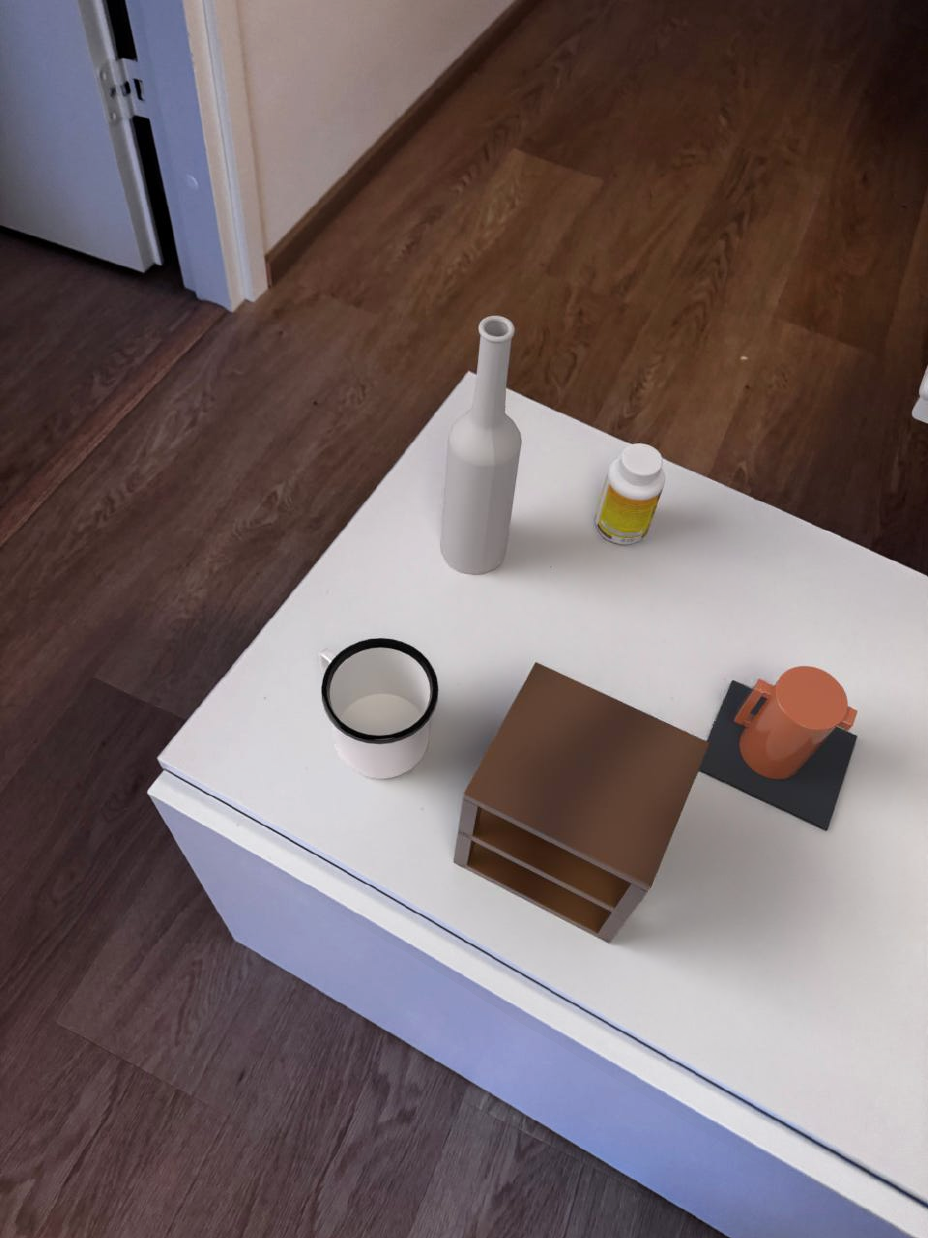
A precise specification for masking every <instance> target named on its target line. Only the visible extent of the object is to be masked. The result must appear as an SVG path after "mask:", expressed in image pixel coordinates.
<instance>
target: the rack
mask: <svg viewBox="0 0 928 1238" xmlns="http://www.w3.org/2000/svg"><path fill="white" fill-rule="evenodd" d="M708 746H709V742H707V740H705V739H703V738H701V737H699V736H696V735H694V734H692V733H690V732H688V731H686V730H683V729H681V728H679V727H677V726H675V725H672V724H670V723H668V722H666V721H664V720H662V719H660V718H658V717H655V716H653V715H651V714H649V713H647V712H644V711H643V710H640V709H638V708H636V707H635V706H632V705H629V704H628V703H624V702H623V701H621V700H619V699H617V698H615V697H613V696H610V695H608V694H606V693H603V692H602V691H599V690H597V689H595V688H593V687H592V686H589V685H586V684H585V683H583V682H581V681H578V680H576V679H574V678H571V677H570V676H567V675H566V674H563V673H561V672H559V671H557V670H555V669H552V668H550V667H548V666H546V665H544V664H542V663H540V662H537V661H535V662H534V664H533V666H532V668H531V669H530V671H529V673H528V675H527V676H526V679H525V680H524V682H523V683H522V685H521V688H520V689H519V691H518V693H517V695H516V697H515V698H514V700H513V702H512V704H511V706H510V708H509V709H508V711H507V713H506V715H505V717H504V719H503V720H502V722H501V723H500V726H499V728H498V729H497V732H496V733H495V735H494V737H493V738H492V740H491V743H490V744H489V745H488V748H487V750H486V752H485V753H484V755H483V757H482V759H481V760H480V762H479V764H478V766H477V768H476V769H475V772H474V773H473V774H472V777H471V779H470V781H469V782H468V784H467V786H466V788H465V790H464V791H463V797H462V803H461V808H460V815H459V820H458V821H459V822H458V828H457V835H456V841H455V847H454V854H453V860H452V861H453V863H454V864H455V865H457V866H459V867H460V868H462V869H465V870H466V871H468V872H471V873H473V874H474V875H477V876H478V877H479V878H482V879H484V880H486V881H488V882H490V883H492V884H494V885H495V886H497V887H499V888H501V889H504V891H506V892H509V893H511V894H512V895H515V896H517V897H518V898H521V899H523V900H524V901H526V902H528V903H530V904H532V905H534V906H536V907H538V908H540V909H541V910H544V911H545V912H547V913H550V914H551V915H553V916H555V917H557V918H559V919H560V920H563V921H565V922H567V923H568V924H571V925H573V926H574V927H576V928H578V929H580V930H582V931H584V932H585V933H588V934H590V935H592V936H594V937H596V938H597V939H599V940H601V941H603V942H605V943H607V944H611V942H612V941H613V940H614V938H615V937H616V936H617V934H618V933H619V932H620V930H621V929H622V927H624V925H625V924H626V922H627V921H628V919H629V918H630V917H631V915H632V914H633V912H634V911H635V910H636V909H637V907H638V906H639V904H640V903H641V902H642V900H643V899H644V898H645V896H647V893H648V892H649V891H650V889H651V888H652V886H653V883H654V882H655V879H656V876H657V874H658V872H659V868H660V866H661V864H662V862H663V859H664V857H665V855H666V852H667V849H668V847H669V844H670V842H671V840H672V837H673V834H674V832H675V830H676V827H677V825H678V822H679V820H680V817H681V815H682V812H683V810H684V807H685V805H686V803H687V800H688V798H689V795H690V793H691V791H692V788H693V785H694V783H695V781H696V778H697V776H698V773H699V772H700V771H699V769H700V766H701V764H702V761H703V759H704V756H705V754H706V751H707V749H708Z"/></svg>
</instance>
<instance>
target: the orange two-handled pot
mask: <svg viewBox="0 0 928 1238" xmlns="http://www.w3.org/2000/svg"><path fill="white" fill-rule="evenodd" d="M751 688H752V690H751V691H750V693H749V694H748V696H747V697H746V699H745V700H744V702H743V703H742V705H741V706H740V708H739V709H738V711H737V714H736V716H735V718H734V722H736V723H738V724H741V725H743V726H746V727H745V729H744V730H743V732H742V734H741V736H740V742H739V746H740V751H741V754H742V756H743V758H744V760H745V762H746V763H747V764H748V765H749V767H750V768H752V769H753V770H754V771H755V772H757V773H758V774H760V775H762V776H764V777H767V778H771V779H784V778H788V777H791V776H793V775H794V774H796V773H797V772H798V771H799V770H800V769H801V767H802V766H803V765H804V764H805V763H806V762H807V761H808V759H809V758H810V757H811V756H812V755H813V754H814V752H815V751H816V750H817V749H818V748H819V747H820V746H821V744H822V743H823V742H824V741H825V740H826V739H827V738H828V736H829V735H830V734H831V733H832V732H833V731H834V730H835V728H836V727H839V728H841V729H843V730H845V731H848V732H849V731H850V729H852V727H853V726H854V723H855V720H856V717H857V714H858V710H857V709H855V708H853V707H851V706H849V702H848V701H849V700H848V696H847V694H846V691H845V688H844V687H843V686H842V684H841V683H840V682H839V681H838V680H837V679H836V678H835V677H834V676H833V675H832V674H830V673H828V672H827V671H826V670H823V669H821V668H818V667H815V666H810V665H798V666H794V667H791V668H789V669H786V670H785V671H784V672H783V673H782V674H781V675H780V677H779V678H778V679H777V681H776V683H775V684H772V683H769V682H768V681H765V680H763V679H761V678H758V679H757V680H756V681H755V683H754V685H753V687H751ZM761 696H763V697H765V700H764V701H763V703H762V704H761V705H760V707H759V708H758V710H757V711H756V713H755V714H754V715H753V714H751V713H750V712H751V711H752V709H753V708H754V707H755V705H756V704H757V702H758V701H759V699H760V698H761Z"/></svg>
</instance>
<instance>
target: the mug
mask: <svg viewBox="0 0 928 1238" xmlns="http://www.w3.org/2000/svg"><path fill="white" fill-rule="evenodd" d="M318 663H319V668H320V672H321V676H322V681H321V686H320V687H321V688H320V695H321V697H320V698H321V704H322V707H323V710H324V713H325V714H326V716H327V718H328V720H329V721H330V723H331V728H332V737H333V744H334V747H335V751H336V753H337V755H338V757H339V758H340V760H341V761H342V762H343V763H344V764H345V766H346V767H348V768H349V770H351V771H352V772H354V773H356V774H358V775H360V776H362V777H365V778H370V779H376V780H377V779H378V780H385V779H392V778H395V777H399V776H401V775H404V774H405V773H408V772H409V771H410V770H411V769H413V768H414V767H415V766H417V765H418V763H419V762H420V761H421V760H422V759H423V757H424V755H425V753H426V752H427V749H428V745H429V740H430V728H431V727H430V726H431V718H432V716H433V714H434V712H435V711H436V707H437V704H438V702H439V691H440V690H439V682H438V677H437V673H436V671H435V668H434V667H433V665H432V663H431V662H430V661H429V659H428V658H427V657H426V655H424V653H422V652H421V651H420V650H418V649H417V648H416V647H414V646H413V645H411V644H408V643H406V642H405V641H401V640H397V639H393V638H386V637H377V638H367V639H364V640H360V641H357V642H355V643H353V644H350V645H348V646H347V647H345V648H344V649H343V650H341V651H339V653H338V654H336V653H334V652H333V651H332V650H331V649H329V648H328V647H327V648H324V649H322V651H320V652H318Z"/></svg>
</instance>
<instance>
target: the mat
mask: <svg viewBox="0 0 928 1238" xmlns="http://www.w3.org/2000/svg"><path fill="white" fill-rule="evenodd" d="M752 688H753V687H750V686H747V685H746V684H743V683H741V682H739V681H737V680H734V679H732V680H731V681H730V683H729V686H728V688H727V690H726V693H725V696H724V697H723V700H722V703H721V705H720V708H719V710H718V713H717V714H716V717H715V720H714V723H713V725H712V727H711V730H710V732H709V734H708V737H707V739H706V741H707V742H709V746H708V749H707V751H706V754H705V756H704V759H703V761H702V764H701V766H700V769H699V771H698V772H700V773H702V774H703V775H706V776H709V777H711V778H713V779H714V780H716V781H719V782H721V783H723V784H725V785H727V786H730V787H731V788H733V789H735V790H738V791H740V792H742V793H744V794H746V795H749V796H751V797H753V798H755V799H757V800H758V801H761V802H763V803H765V804H768V805H770V806H771V807H774V808H776V809H777V810H780V811H782V812H785V814H786V813H787V814H788V815H790V816H793V817H795V818H798V819H799V820H802V821H804V822H806V823H808V824H810V825H812V826H814V827H815V828H818V829H821V830H822V831H825V832H827V831H828V830H829V829H830V824H831V822H832V819H833V815H834V812H835V809H836V806H837V803H838V799H839V796H840V793H841V791H842V790H841V789H842V787H843V783H844V780H845V778H846V775H847V771H848V768H849V764H850V762H851V758H852V755H853V752H854V749H855V746H856V742H857V740H858V735H856V734H854V733H853V732H850V731H849V730H848V731H847V730H845V729H843V728H840V727H838V726H837V727H836V728H835V730H834V731H833V732H832V733H831V734H830V735H829V736H828V738H827V739H826V740H825V741H824V742H823V743H822V744H821V746H820V747H819V748H818V749H817V750H816V751H815V752H814V754H813V755H812V756H811V757H810V758H809V759H808V761H807V762H806V763H805V764H804V765H803V766H802V767H801V769H800V770H799V771H798V772H797V773H796V774H794V775H793V776H791V777H788V778H784V779H771V778H767V777H764V776H762V775H760V774H758V773H757V772H755V771H754V770H753V769H752V768H750V767H749V765H748V764H747V763H746V762H745V760H744V758H743V756H742V754H741V751H740V746H739V742H740V736H741V734H742V732H743V730H744V729H745V727H746V726H743V725H741V724H738V723H736V722H734V718H735V716H736V714H737V711H738V709H739V708H740V706H741V705H742V703H743V702H744V700H745V699H746V697H747V696H748V694H749V693H750V691H751V690H752ZM764 700H765V697H763V696H761V698H760V699H759V701H758V702H757V704H756V705H755V707H754V708H753V709H752V711H751V712H750V713H751V714H753V715H754V714H755V713H756V711H757V710H758V708H759V707H760V705H761V704H762V703H763V701H764Z"/></svg>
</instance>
